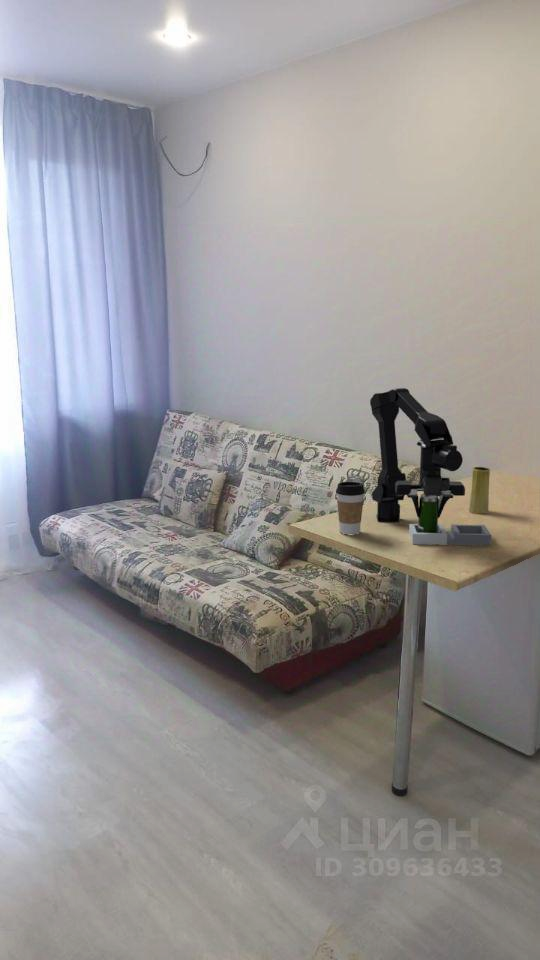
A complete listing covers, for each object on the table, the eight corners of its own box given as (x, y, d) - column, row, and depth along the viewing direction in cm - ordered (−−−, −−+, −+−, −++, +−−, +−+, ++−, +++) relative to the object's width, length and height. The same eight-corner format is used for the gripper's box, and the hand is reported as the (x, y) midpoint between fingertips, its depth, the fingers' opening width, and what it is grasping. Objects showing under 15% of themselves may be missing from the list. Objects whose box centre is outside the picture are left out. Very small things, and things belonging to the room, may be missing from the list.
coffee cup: (341, 538, 202) (342, 487, 198) (331, 529, 210) (331, 481, 206) (368, 535, 204) (369, 485, 200) (357, 527, 212) (358, 478, 208)
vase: (473, 507, 230) (476, 465, 227) (491, 511, 226) (494, 468, 223) (465, 512, 226) (468, 469, 222) (484, 515, 222) (486, 471, 218)
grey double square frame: (412, 544, 196) (412, 533, 195) (409, 533, 205) (409, 523, 204) (490, 545, 194) (491, 535, 193) (483, 534, 203) (484, 525, 202)
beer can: (427, 540, 196) (429, 499, 193) (413, 535, 200) (415, 495, 197) (441, 536, 199) (443, 496, 196) (427, 532, 203) (428, 492, 200)
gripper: (399, 470, 188) (397, 525, 191) (470, 470, 186) (466, 526, 190) (395, 461, 198) (394, 513, 202) (462, 461, 197) (459, 514, 200)
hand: (428, 517), depth 198 cm, fingers closed on beer can, 5 cm apart
